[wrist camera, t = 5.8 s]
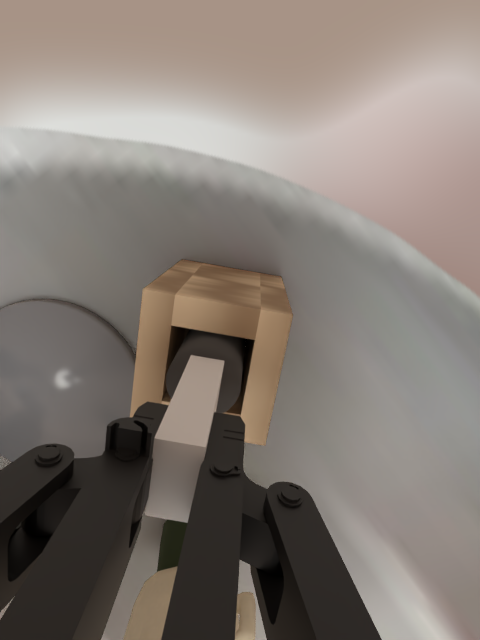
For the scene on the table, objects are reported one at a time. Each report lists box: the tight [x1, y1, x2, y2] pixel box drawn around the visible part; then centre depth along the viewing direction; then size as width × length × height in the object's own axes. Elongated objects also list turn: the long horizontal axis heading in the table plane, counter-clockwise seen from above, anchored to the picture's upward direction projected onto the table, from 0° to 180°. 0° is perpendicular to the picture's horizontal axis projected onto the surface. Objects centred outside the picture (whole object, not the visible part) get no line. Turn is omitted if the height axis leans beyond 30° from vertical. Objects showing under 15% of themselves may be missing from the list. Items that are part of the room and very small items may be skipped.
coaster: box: [0, 299, 136, 462], centre depth 31 cm, size 14×14×1 cm
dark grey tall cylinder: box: [166, 329, 245, 413], centre depth 23 cm, size 3×3×10 cm
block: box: [130, 259, 293, 446], centre depth 25 cm, size 7×7×10 cm
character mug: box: [123, 519, 256, 640], centre depth 28 cm, size 11×7×13 cm, turn 122°
